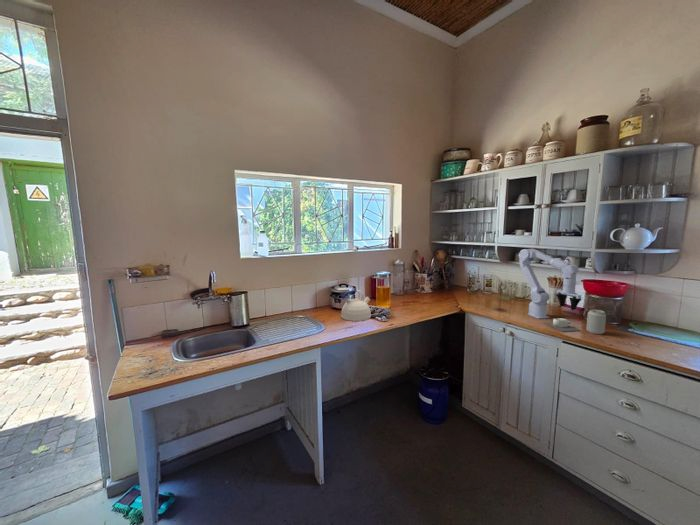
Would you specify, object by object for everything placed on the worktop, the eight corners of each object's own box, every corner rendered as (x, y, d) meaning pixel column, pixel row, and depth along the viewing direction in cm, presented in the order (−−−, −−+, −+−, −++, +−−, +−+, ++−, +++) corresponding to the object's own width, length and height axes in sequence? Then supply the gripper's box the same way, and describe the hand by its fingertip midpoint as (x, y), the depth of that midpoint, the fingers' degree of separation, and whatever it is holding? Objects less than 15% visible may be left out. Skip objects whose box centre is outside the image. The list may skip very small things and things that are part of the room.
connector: (556, 327, 160) (556, 320, 159) (551, 325, 163) (551, 318, 163) (571, 326, 161) (571, 319, 160) (566, 324, 164) (566, 318, 163)
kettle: (377, 318, 185) (376, 291, 182) (347, 323, 177) (346, 294, 175) (364, 310, 203) (363, 285, 201) (336, 314, 196) (335, 288, 194)
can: (584, 329, 158) (586, 308, 157) (602, 331, 154) (604, 309, 153) (587, 333, 152) (589, 311, 150) (606, 335, 148) (608, 313, 146)
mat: (543, 323, 168) (543, 322, 168) (558, 322, 169) (559, 321, 169) (563, 331, 154) (563, 331, 154) (579, 330, 155) (580, 330, 155)
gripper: (552, 283, 172) (551, 304, 173) (573, 287, 157) (571, 311, 159) (563, 282, 172) (562, 304, 174) (585, 287, 158) (583, 311, 159)
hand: (567, 307), depth 166 cm, fingers open, 7 cm apart
